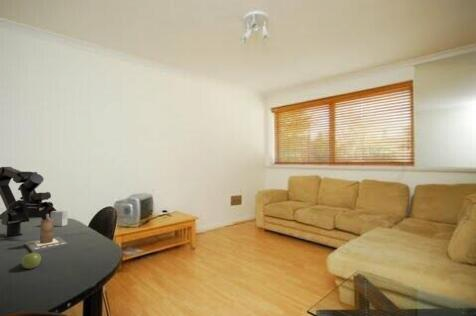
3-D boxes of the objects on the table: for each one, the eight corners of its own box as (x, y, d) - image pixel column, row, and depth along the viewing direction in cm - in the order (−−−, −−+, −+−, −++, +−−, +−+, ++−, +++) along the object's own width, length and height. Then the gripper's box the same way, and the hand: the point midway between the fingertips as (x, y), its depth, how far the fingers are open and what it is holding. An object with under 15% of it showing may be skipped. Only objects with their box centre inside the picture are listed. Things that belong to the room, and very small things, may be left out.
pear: (21, 255, 91) (23, 252, 99) (20, 271, 90) (23, 266, 98) (40, 252, 94) (42, 249, 102) (40, 267, 94) (41, 263, 102)
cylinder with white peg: (42, 241, 122) (43, 213, 122) (54, 240, 123) (55, 213, 124) (38, 243, 117) (39, 215, 118) (50, 242, 119) (52, 214, 119)
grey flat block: (25, 244, 120) (25, 241, 120) (58, 238, 130) (58, 236, 130) (32, 253, 109) (33, 249, 109) (68, 246, 119) (68, 243, 119)
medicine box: (67, 224, 158) (67, 210, 159) (61, 226, 154) (62, 212, 154) (55, 224, 159) (56, 210, 159) (49, 226, 155) (50, 211, 155)
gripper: (24, 183, 120) (33, 213, 116) (57, 187, 138) (66, 213, 134) (4, 195, 121) (12, 225, 116) (40, 197, 138) (48, 224, 134)
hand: (37, 221), depth 125 cm, fingers open, 9 cm apart
